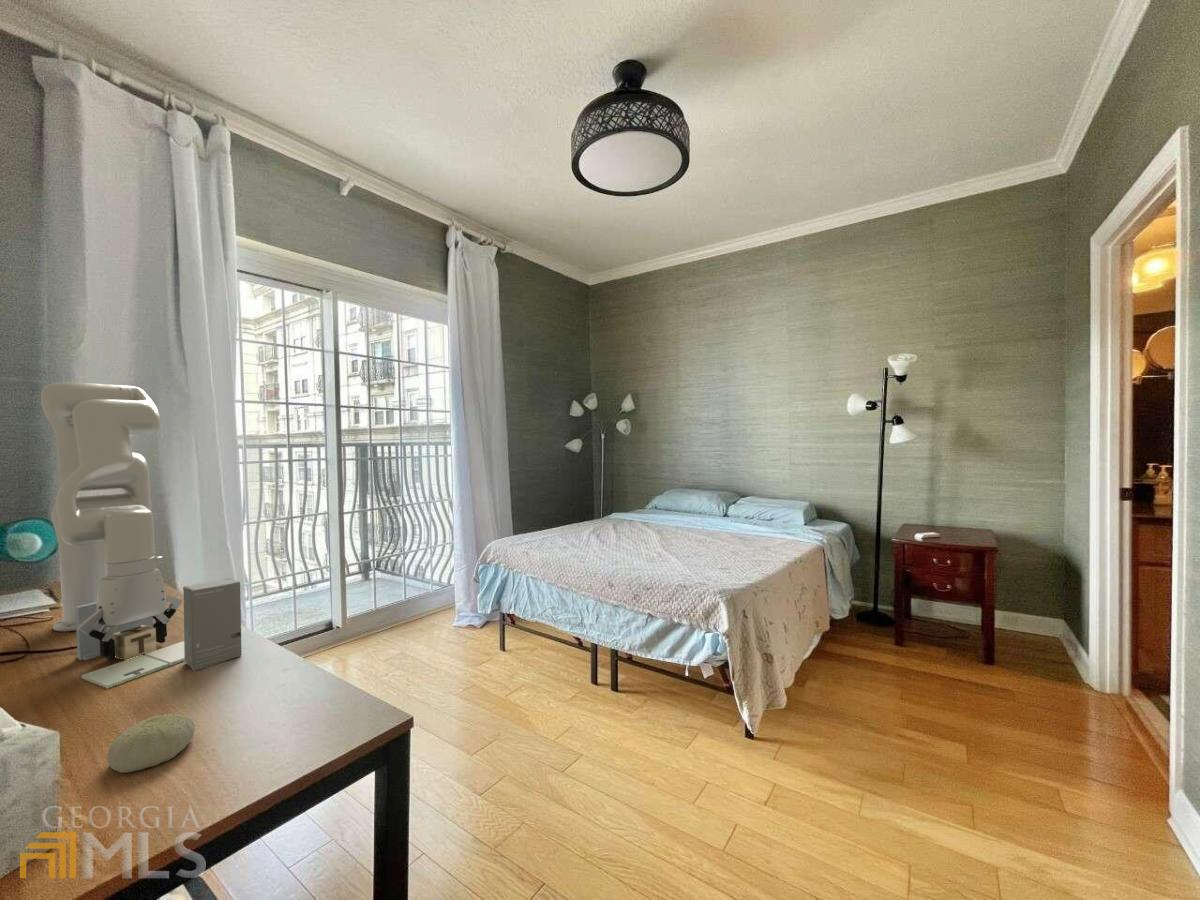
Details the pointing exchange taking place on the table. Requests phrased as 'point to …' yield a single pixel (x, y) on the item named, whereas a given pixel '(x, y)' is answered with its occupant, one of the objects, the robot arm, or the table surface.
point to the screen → (90, 645)
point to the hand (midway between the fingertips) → (135, 649)
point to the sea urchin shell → (150, 742)
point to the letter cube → (135, 642)
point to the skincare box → (212, 622)
